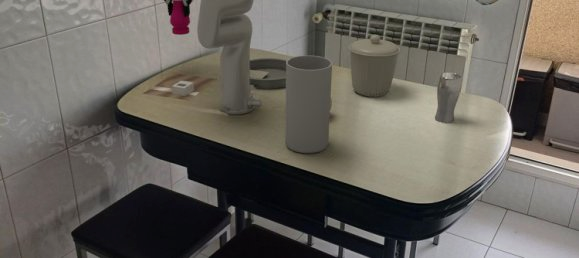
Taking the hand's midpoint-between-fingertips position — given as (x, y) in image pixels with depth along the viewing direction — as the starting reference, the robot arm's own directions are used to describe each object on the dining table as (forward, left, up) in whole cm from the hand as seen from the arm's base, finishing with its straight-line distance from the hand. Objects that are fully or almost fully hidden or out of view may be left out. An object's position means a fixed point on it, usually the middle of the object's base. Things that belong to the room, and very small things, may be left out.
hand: (179, 15), depth 197 cm
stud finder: (-10, +18, -22) cm, 30 cm away
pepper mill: (0, 0, -7) cm, 7 cm away
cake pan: (-31, -9, -24) cm, 40 cm away
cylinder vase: (-61, +39, -24) cm, 76 cm away
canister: (-71, -9, -24) cm, 75 cm away
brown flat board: (-6, +13, -24) cm, 28 cm away
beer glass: (-98, +7, -24) cm, 101 cm away
